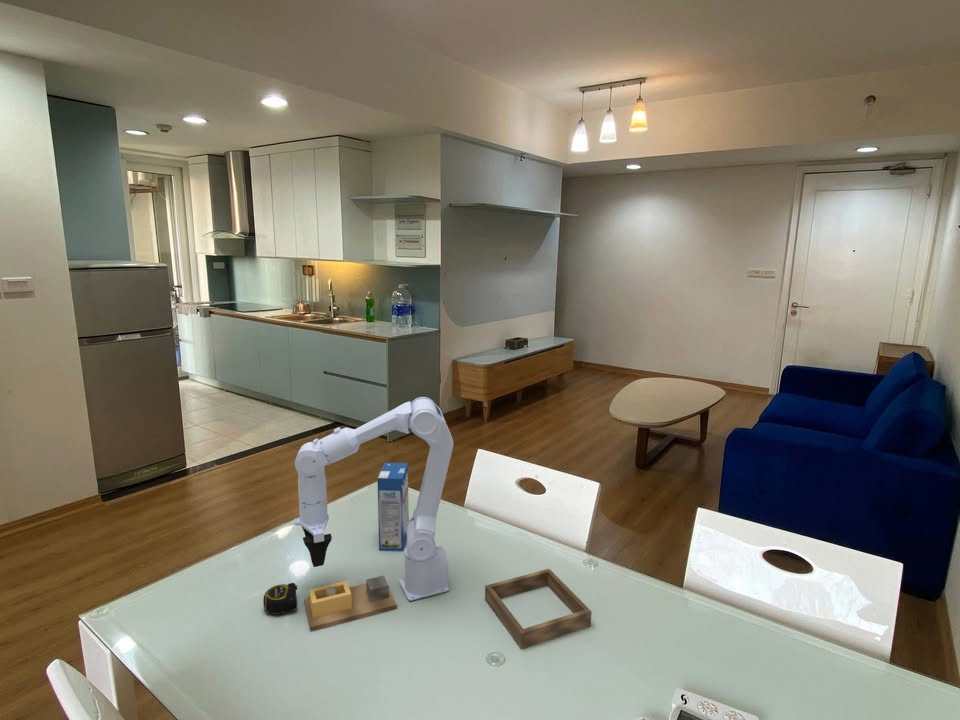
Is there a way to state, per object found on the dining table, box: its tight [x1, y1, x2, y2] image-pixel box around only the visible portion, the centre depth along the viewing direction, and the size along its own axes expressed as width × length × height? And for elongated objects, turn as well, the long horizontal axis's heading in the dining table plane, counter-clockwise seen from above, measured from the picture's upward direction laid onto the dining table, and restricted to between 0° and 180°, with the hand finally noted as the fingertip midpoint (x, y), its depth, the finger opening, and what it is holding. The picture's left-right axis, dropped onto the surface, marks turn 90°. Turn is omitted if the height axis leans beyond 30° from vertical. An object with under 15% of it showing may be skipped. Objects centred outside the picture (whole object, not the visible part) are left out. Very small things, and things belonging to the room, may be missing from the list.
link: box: [308, 580, 352, 618], centre depth 115 cm, size 8×5×4 cm, turn 114°
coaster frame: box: [484, 568, 592, 650], centre depth 116 cm, size 16×16×4 cm
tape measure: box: [263, 582, 298, 615], centre depth 116 cm, size 7×7×4 cm
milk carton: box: [376, 462, 410, 552], centre depth 141 cm, size 10×6×20 cm, turn 179°
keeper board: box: [303, 575, 398, 632], centre depth 117 cm, size 18×10×5 cm, turn 115°
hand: (315, 556), depth 118 cm, fingers open, 7 cm apart
